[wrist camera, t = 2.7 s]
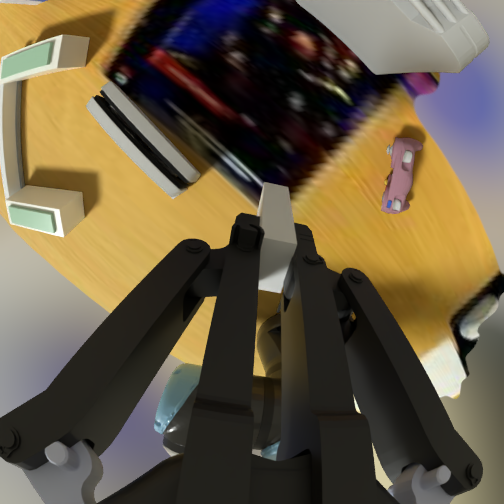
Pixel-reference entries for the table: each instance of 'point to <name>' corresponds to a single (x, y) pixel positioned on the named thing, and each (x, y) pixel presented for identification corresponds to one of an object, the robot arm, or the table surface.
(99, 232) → the table surface
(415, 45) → the fuel canister
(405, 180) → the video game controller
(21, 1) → the walkman
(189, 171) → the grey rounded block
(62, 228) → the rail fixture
